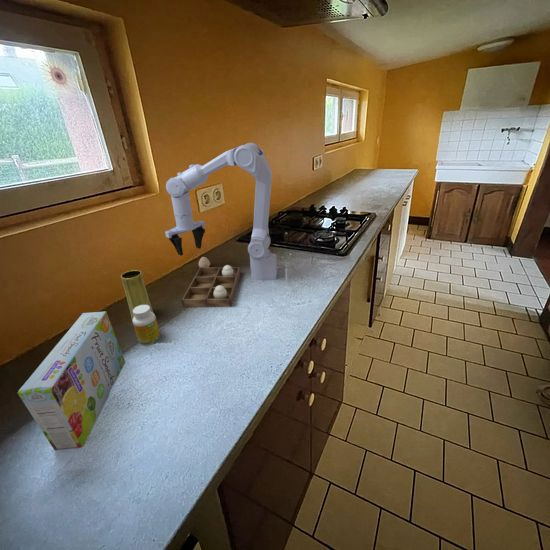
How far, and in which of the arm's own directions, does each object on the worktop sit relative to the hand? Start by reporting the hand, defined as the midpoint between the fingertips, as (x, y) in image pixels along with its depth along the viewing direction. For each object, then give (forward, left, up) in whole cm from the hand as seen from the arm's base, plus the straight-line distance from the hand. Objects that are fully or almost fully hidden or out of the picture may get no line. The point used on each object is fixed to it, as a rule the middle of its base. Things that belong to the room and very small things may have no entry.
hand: (189, 251), depth 107 cm
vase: (+8, +27, -10) cm, 30 cm away
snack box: (+6, +56, -10) cm, 57 cm away
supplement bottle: (+2, +37, -10) cm, 38 cm away
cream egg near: (-14, +19, -8) cm, 25 cm away
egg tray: (-10, +12, -9) cm, 18 cm away
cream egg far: (-14, +5, -8) cm, 17 cm away
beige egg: (-3, -4, -9) cm, 11 cm away
